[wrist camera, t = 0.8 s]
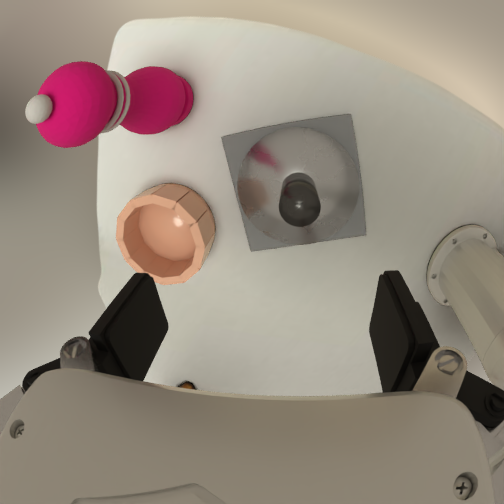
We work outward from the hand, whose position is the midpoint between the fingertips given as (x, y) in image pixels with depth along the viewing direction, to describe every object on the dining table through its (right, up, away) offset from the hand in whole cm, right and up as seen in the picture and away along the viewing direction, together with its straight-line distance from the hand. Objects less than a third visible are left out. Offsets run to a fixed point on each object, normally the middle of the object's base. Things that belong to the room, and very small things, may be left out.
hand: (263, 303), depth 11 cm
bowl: (-10, +5, +24) cm, 26 cm away
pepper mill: (-10, +19, +17) cm, 27 cm away
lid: (+5, +9, +19) cm, 21 cm away
